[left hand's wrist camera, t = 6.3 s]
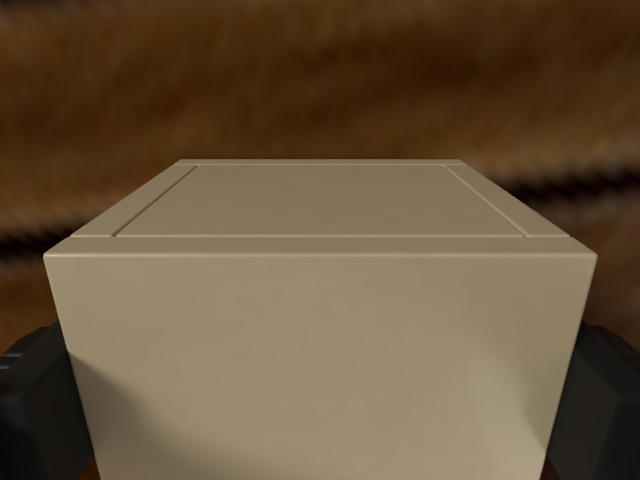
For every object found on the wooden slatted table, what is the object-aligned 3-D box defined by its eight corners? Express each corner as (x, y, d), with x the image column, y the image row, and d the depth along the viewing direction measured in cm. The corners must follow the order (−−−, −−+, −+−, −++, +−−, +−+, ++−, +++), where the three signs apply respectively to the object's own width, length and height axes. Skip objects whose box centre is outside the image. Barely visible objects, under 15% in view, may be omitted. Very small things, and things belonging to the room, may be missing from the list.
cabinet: (413, 550, 23) (459, 791, 15) (226, 550, 23) (181, 790, 15) (460, 158, 15) (601, 253, 8) (180, 158, 15) (39, 253, 8)
